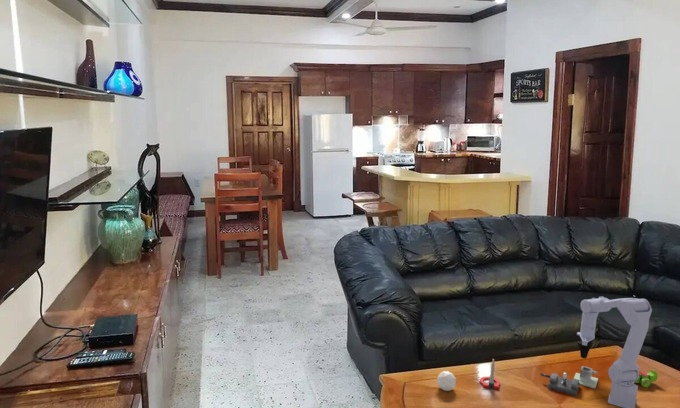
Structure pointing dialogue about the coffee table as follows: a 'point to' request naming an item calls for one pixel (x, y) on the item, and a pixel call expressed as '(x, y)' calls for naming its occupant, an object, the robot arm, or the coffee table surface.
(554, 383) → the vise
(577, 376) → the set down mat
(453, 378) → the geometric ball
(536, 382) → the coffee table surface
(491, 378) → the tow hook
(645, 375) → the toy crocodile
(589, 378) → the hollow square tube
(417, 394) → the coffee table surface
